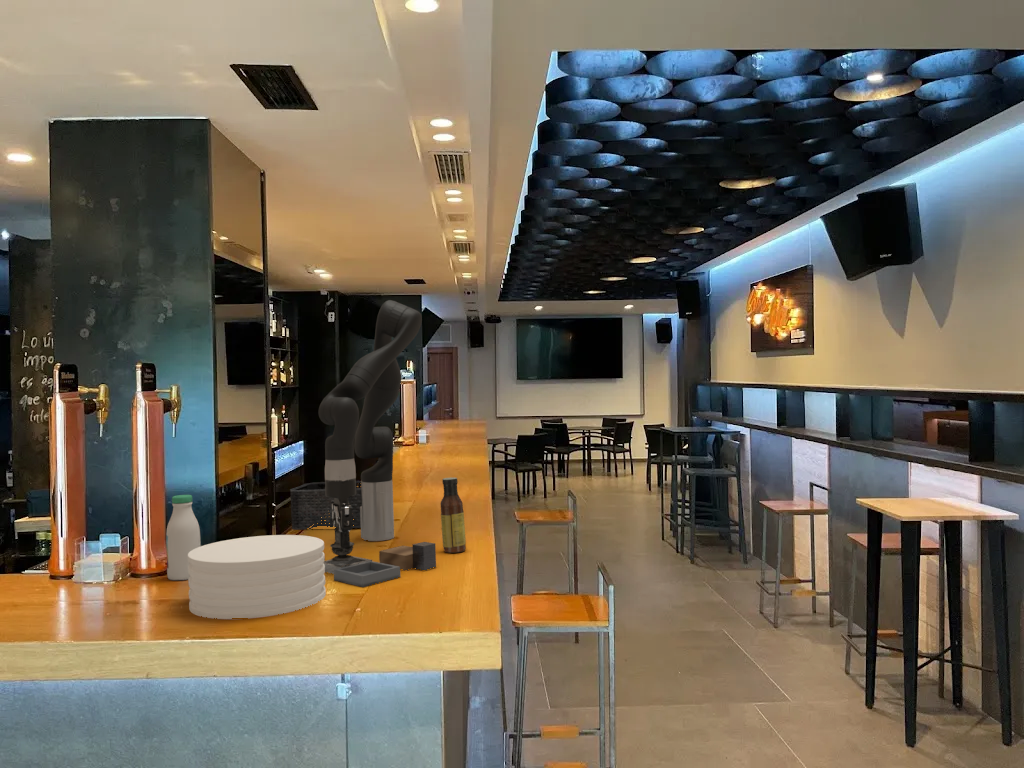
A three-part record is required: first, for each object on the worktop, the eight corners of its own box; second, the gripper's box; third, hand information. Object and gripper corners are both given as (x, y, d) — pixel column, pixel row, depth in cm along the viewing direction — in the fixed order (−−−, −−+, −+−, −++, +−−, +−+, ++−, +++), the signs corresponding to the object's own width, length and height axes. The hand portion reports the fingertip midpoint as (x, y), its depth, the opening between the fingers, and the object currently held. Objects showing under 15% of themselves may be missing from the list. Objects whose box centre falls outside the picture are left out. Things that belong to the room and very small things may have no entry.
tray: (333, 580, 185) (333, 569, 185) (371, 570, 193) (370, 560, 193) (363, 587, 178) (362, 576, 178) (400, 577, 186) (400, 566, 186)
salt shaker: (359, 558, 196) (358, 510, 196) (339, 562, 192) (337, 513, 192) (346, 555, 200) (344, 508, 200) (326, 559, 196) (324, 511, 196)
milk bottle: (208, 574, 194) (205, 493, 194) (183, 582, 187) (180, 498, 187) (185, 572, 198) (183, 493, 198) (160, 579, 191) (157, 497, 191)
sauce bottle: (467, 548, 216) (465, 476, 216) (464, 553, 210) (461, 479, 210) (444, 548, 217) (441, 476, 216) (439, 553, 210) (437, 479, 210)
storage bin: (287, 530, 253) (286, 489, 253) (309, 520, 272) (308, 481, 272) (374, 529, 250) (373, 487, 250) (390, 519, 269) (389, 480, 269)
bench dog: (413, 568, 194) (412, 544, 194) (425, 565, 197) (424, 541, 197) (424, 570, 191) (423, 546, 191) (436, 567, 194) (435, 543, 194)
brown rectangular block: (379, 566, 199) (379, 551, 199) (403, 560, 205) (403, 545, 205) (406, 572, 192) (405, 555, 192) (430, 565, 198) (429, 549, 198)
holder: (318, 570, 195) (317, 562, 195) (349, 563, 203) (348, 555, 203) (341, 575, 189) (341, 567, 189) (372, 567, 196) (372, 560, 196)
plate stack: (351, 596, 171) (349, 544, 171) (229, 629, 150) (227, 569, 150) (283, 577, 190) (281, 530, 190) (166, 604, 169) (164, 550, 169)
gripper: (320, 475, 201) (321, 541, 201) (330, 481, 188) (332, 551, 188) (349, 473, 204) (351, 538, 204) (361, 479, 191) (363, 548, 191)
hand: (342, 544), depth 196 cm, fingers closed on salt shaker, 6 cm apart
